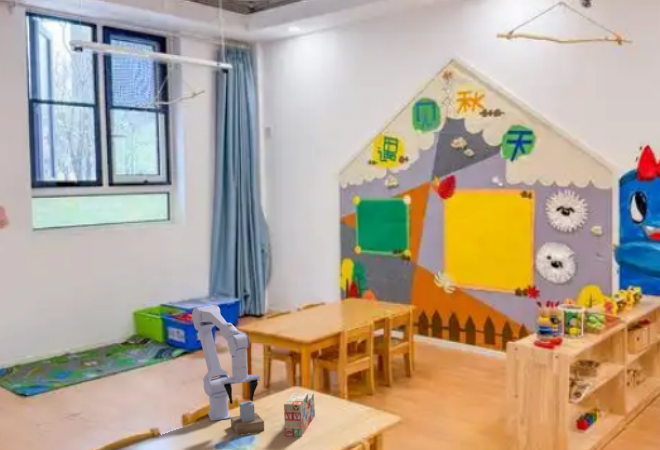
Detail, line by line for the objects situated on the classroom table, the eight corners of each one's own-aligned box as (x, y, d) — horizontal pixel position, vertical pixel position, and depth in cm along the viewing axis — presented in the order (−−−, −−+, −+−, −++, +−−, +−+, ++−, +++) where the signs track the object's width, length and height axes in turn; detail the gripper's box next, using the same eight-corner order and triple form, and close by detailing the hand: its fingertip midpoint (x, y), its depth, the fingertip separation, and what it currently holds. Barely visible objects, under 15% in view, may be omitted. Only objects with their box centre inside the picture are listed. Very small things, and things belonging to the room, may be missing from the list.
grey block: (240, 418, 254) (239, 402, 253) (252, 416, 255) (251, 400, 255) (242, 422, 249) (241, 406, 249) (254, 420, 251) (254, 404, 250)
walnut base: (231, 427, 255) (230, 417, 255) (256, 423, 259) (256, 412, 259) (238, 436, 246) (237, 426, 246) (264, 431, 250) (263, 421, 250)
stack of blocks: (299, 415, 265) (298, 384, 264) (315, 416, 264) (313, 385, 263) (285, 436, 244) (283, 403, 243) (301, 437, 243) (300, 403, 242)
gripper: (221, 371, 245) (223, 407, 246) (261, 366, 249) (262, 402, 251) (218, 366, 252) (220, 401, 253) (257, 361, 256) (258, 396, 257)
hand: (241, 401), depth 252 cm, fingers open, 7 cm apart
